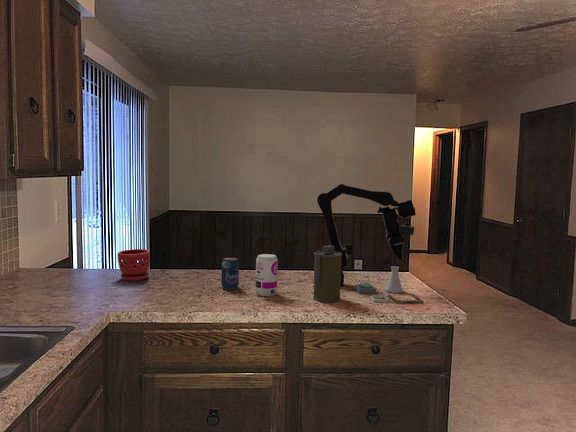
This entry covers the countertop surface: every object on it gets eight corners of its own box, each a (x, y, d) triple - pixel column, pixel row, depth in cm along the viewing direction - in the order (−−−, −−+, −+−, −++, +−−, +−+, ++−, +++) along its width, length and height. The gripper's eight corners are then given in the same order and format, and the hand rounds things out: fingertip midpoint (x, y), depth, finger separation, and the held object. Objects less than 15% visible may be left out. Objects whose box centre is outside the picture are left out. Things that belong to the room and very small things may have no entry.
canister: (325, 293, 189) (326, 243, 187) (346, 299, 181) (348, 246, 179) (306, 298, 181) (307, 245, 179) (327, 304, 174) (329, 249, 172)
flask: (403, 294, 191) (404, 269, 190) (384, 292, 193) (385, 268, 192) (402, 289, 198) (403, 265, 197) (384, 288, 200) (385, 264, 199)
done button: (361, 288, 192) (361, 284, 191) (359, 286, 196) (359, 281, 195) (371, 288, 192) (371, 283, 192) (368, 286, 196) (368, 281, 196)
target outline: (396, 303, 177) (396, 300, 177) (388, 296, 187) (388, 294, 187) (423, 303, 178) (423, 300, 178) (413, 296, 188) (413, 293, 188)
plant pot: (137, 274, 216) (137, 247, 215) (156, 278, 208) (156, 250, 207) (111, 278, 205) (111, 251, 204) (130, 283, 198) (130, 254, 197)
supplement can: (280, 292, 188) (281, 255, 187) (270, 297, 181) (271, 258, 180) (262, 290, 192) (262, 253, 190) (251, 295, 184) (252, 256, 183)
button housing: (358, 293, 190) (359, 288, 190) (354, 289, 197) (354, 284, 197) (376, 293, 191) (376, 288, 191) (371, 289, 198) (371, 284, 198)
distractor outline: (374, 302, 178) (374, 300, 178) (369, 297, 184) (369, 295, 184) (389, 302, 179) (390, 300, 179) (384, 297, 185) (384, 295, 185)
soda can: (227, 290, 190) (228, 260, 189) (218, 287, 195) (218, 258, 194) (242, 288, 194) (242, 258, 193) (232, 285, 200) (232, 256, 198)
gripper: (413, 219, 189) (422, 257, 190) (407, 214, 208) (416, 249, 209) (384, 225, 191) (393, 263, 192) (382, 220, 209) (390, 255, 210)
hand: (399, 257), depth 201 cm, fingers open, 9 cm apart
